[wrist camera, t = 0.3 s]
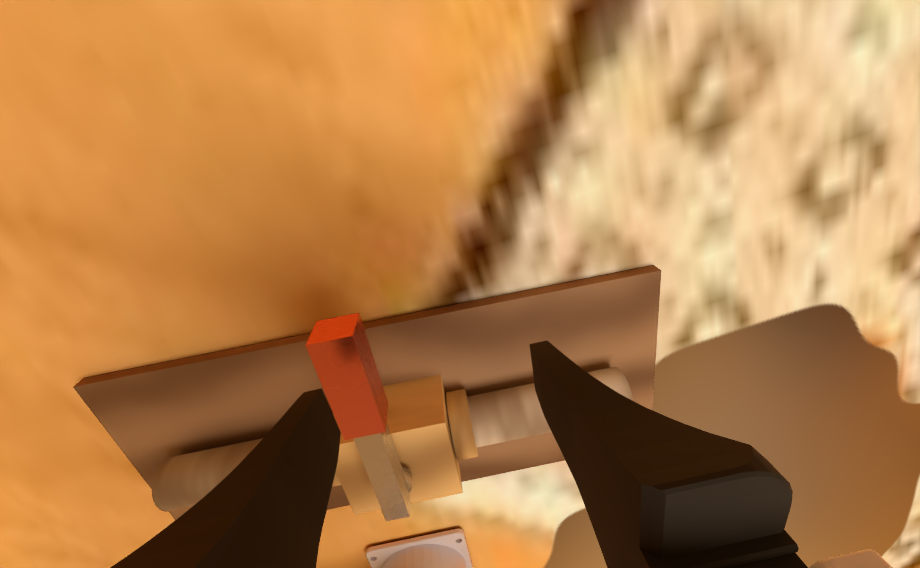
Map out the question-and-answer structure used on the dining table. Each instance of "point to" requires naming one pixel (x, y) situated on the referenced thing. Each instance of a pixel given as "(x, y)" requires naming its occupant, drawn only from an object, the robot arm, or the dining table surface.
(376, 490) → the valve lever
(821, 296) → the dining table surface
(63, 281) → the dining table surface
